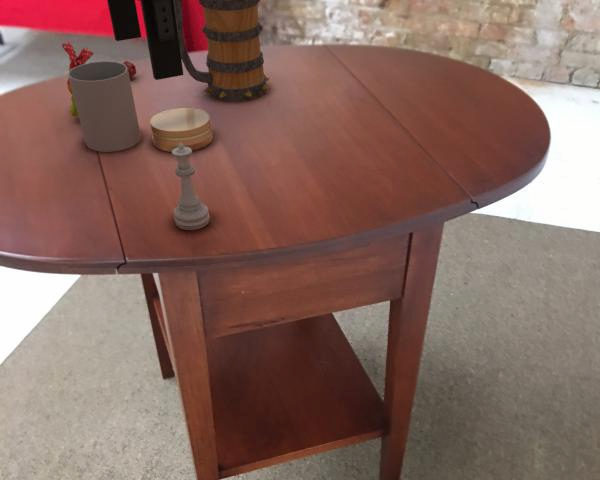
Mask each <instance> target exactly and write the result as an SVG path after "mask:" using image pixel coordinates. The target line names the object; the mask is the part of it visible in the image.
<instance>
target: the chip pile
mask: <svg viewBox="0 0 600 480" xmlns="http://www.w3.org/2000/svg"><path fill="white" fill-rule="evenodd" d="M149 124H150V125H149V126H150V129H151V133H152V134H151V139H152V144H153V146H154V147H155V148H157V149H159V150H160V151H165V152H168V153H172V150H173V149H175V148H178V144H179V143H182V144H183V145H184V147H189V148H191V150H192V152H193V151H197V150H200V149H203V148H205V147H207V146H208V145H209V144H211V143H212V141H213V137H214V135H213V128H212V123H211V117H210V114H208V112H207V111H204V110H202V109H198V108H194V107H179V108H178V107H177V108H170V109H166V110H163V111H160V112H158V113H156V114H155V115H153V116H152V117H151V118H150V121H149Z"/></svg>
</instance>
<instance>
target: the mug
mask: <svg viewBox="0 0 600 480" xmlns="http://www.w3.org/2000/svg"><path fill="white" fill-rule="evenodd" d="M173 2H174V9H175V16H176V24H177V31H178V38H179V45H180V52H181V60H182V64H183V65H184V68H185V70H186V71H187V73H188V75H189V76H190V77H191V78H192V79H194V80H195V81H196V82H200V83H204V84H207V87H206V88H205V89H204V90H203V92H204V93H207V94H208V95H209V96H210V97H212V98H213V99H214V100H218V101H223V102H237V103H238V102H244V101H245V102H246V101H251V100H255V99H257V98H261V97H262V96H263V95H265V94H266V93H267V92H268V90H270V89H271V87H270V86H268V85H267V82H268V81H269V80H270V77H268V76H266V75H265V71H264V63H265V59H264V53H263V52H262V51H261V44H260V43H261V42H260V34H261V32H262V31H263V30H264V29H263V25H261V23H260V22H259V3H260V2H261V0H198V3H199V5H201V6H202V9H203V15H204V16H203V17H204V23H205V25H203V27H202V29H201V32H202V33H203V34H204V36H205V38H206V41H207V55H206V62H205V65H206V66H207V69H208V71H200V70H198V69H197V68H195V65H194V64H193V62H192V60H191V58H190V55H189V52H188V50H187V49H188V48H187V45H186V43H185V37H184V27H183V24H184V23H183V21H184V20H183V16H184V15H183V13H184V12H183V1H182V0H173Z"/></svg>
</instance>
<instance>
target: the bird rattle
mask: <svg viewBox="0 0 600 480" xmlns="http://www.w3.org/2000/svg"><path fill="white" fill-rule="evenodd" d="M61 47H62V48H63V50H64V51H65V53H67V55H68V59H69V65H68V72H69V71H70V70H71V69H73V68H75V67H77V66H79V65H83V64H86V62H88V61H89V60H90V59H91V57H92V56H93V55H94V52H93V51H91V50H89V49H88V47H83V48H82V50H81V51H80V53H78V55H77V54H76V53H77V52H76V50H75V49H74V47H73V43H71V42H67V43H62V44H61ZM66 85H67V90H68V92H69V93H70V95H71V97H70V100H71V105H70V114H71V116H72V117H78V118H79V115H78V112H77V108H76V104H75V100H74V96H73V92H72V89H71V85H70V81H69V77H68V78H67V83H66Z"/></svg>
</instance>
